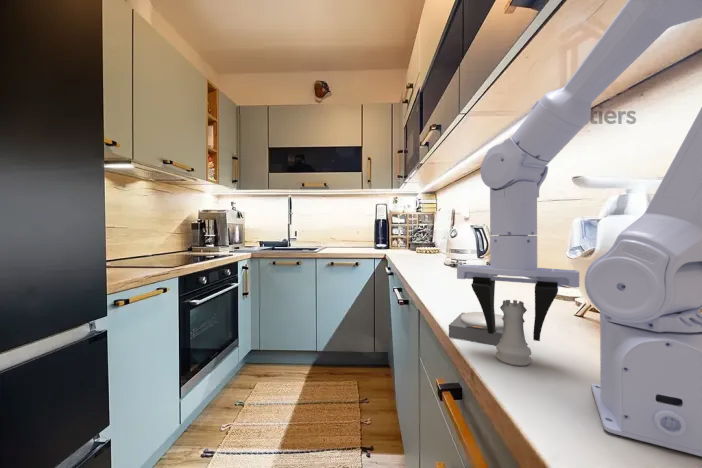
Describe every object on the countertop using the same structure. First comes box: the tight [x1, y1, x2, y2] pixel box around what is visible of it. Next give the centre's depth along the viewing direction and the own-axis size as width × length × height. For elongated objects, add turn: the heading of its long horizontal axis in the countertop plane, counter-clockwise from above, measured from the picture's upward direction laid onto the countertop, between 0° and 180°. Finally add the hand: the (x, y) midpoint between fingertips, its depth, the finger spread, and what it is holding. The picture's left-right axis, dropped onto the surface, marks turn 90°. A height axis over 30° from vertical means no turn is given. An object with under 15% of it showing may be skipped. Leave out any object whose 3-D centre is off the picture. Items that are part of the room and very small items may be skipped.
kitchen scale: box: [448, 311, 504, 346], centre depth 53 cm, size 10×10×3 cm
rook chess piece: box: [495, 299, 533, 367], centre depth 42 cm, size 4×4×8 cm
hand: (513, 335), depth 42 cm, fingers open, 5 cm apart
